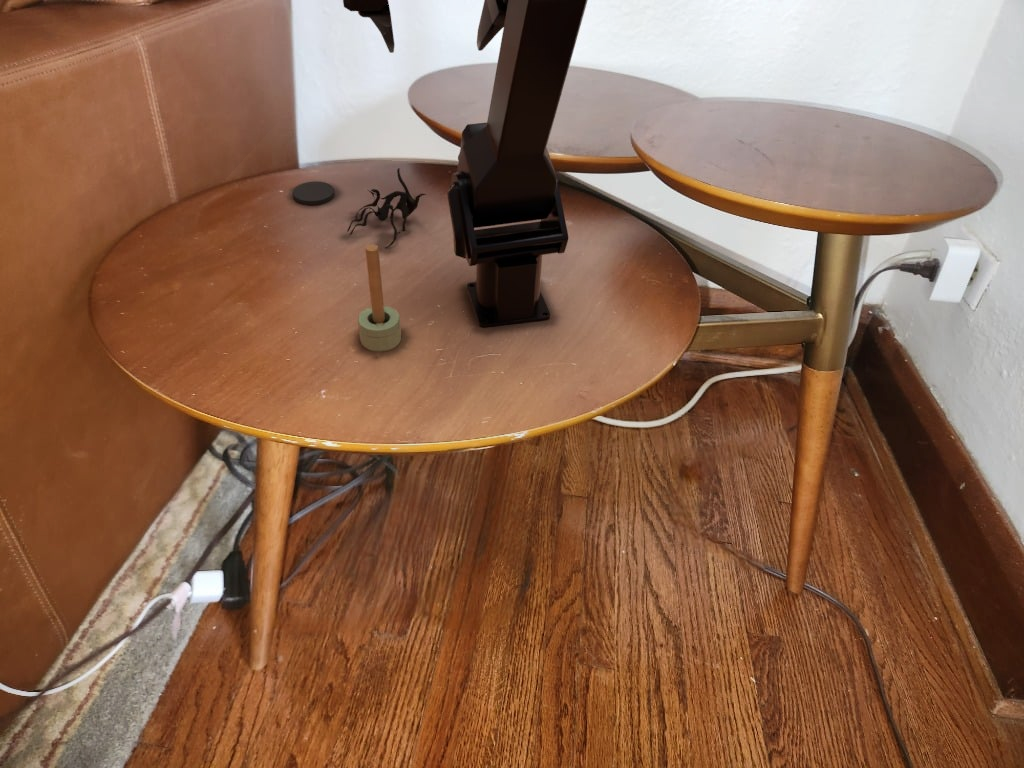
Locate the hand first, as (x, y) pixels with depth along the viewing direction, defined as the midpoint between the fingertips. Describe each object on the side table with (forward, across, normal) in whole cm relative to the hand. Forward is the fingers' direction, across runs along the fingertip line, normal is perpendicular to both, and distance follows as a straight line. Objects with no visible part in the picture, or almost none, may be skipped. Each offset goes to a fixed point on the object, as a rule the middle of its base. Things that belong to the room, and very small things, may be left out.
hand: (435, 48), depth 81 cm
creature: (+8, +8, +16) cm, 20 cm away
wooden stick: (0, +10, +33) cm, 34 cm away
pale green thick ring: (+1, +10, +33) cm, 34 cm away
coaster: (+12, +14, +9) cm, 20 cm away
